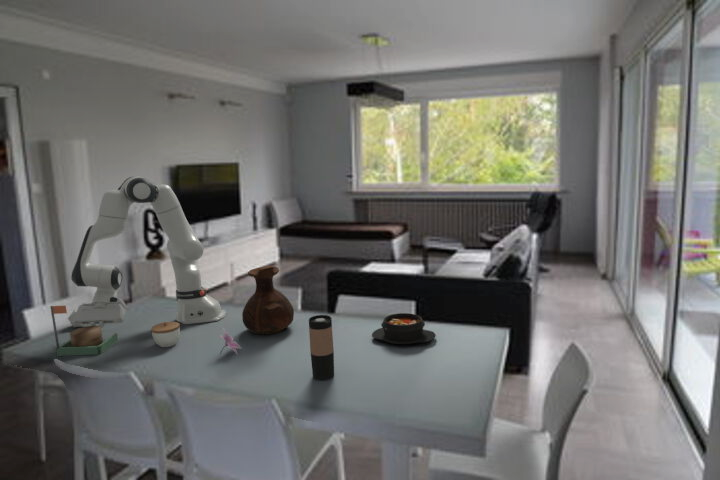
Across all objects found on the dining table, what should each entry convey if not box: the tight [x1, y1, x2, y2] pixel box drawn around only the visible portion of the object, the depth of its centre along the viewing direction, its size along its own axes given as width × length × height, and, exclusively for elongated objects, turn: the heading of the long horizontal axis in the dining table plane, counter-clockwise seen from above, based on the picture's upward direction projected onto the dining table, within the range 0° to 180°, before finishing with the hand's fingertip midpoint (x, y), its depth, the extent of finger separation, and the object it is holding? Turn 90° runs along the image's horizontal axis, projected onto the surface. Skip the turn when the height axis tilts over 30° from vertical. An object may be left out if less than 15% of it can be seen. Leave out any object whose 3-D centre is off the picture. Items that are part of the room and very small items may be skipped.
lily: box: [219, 327, 242, 355], centre depth 191 cm, size 11×11×9 cm
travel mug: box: [308, 314, 335, 382], centre depth 166 cm, size 8×8×20 cm
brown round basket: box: [69, 325, 104, 347], centre depth 203 cm, size 11×11×8 cm
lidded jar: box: [150, 321, 181, 348], centre depth 203 cm, size 11×11×9 cm
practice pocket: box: [49, 305, 119, 357], centre depth 202 cm, size 17×14×20 cm
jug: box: [241, 265, 295, 335], centre depth 212 cm, size 22×22×30 cm
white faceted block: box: [67, 308, 88, 328], centre depth 231 cm, size 8×9×10 cm
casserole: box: [371, 312, 437, 345], centre depth 197 cm, size 25×19×8 cm
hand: (94, 332), depth 209 cm, fingers closed, pressing on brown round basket
